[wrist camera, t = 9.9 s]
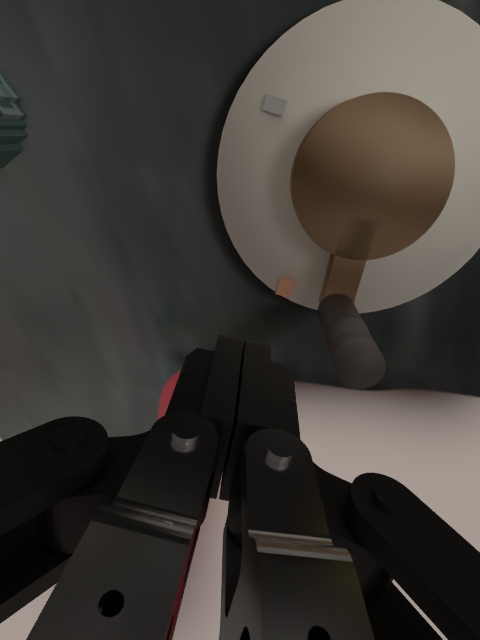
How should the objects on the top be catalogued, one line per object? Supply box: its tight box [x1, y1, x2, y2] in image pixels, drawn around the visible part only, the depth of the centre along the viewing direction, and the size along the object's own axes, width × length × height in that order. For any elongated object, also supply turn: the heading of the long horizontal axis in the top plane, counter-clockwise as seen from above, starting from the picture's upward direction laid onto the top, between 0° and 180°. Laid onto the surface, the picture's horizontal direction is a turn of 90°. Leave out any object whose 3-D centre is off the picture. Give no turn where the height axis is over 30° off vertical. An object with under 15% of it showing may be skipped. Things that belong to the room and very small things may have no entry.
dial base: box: [217, 0, 480, 313], centre depth 24 cm, size 18×18×2 cm
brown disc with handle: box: [290, 92, 455, 389], centre depth 20 cm, size 14×9×8 cm, turn 172°
